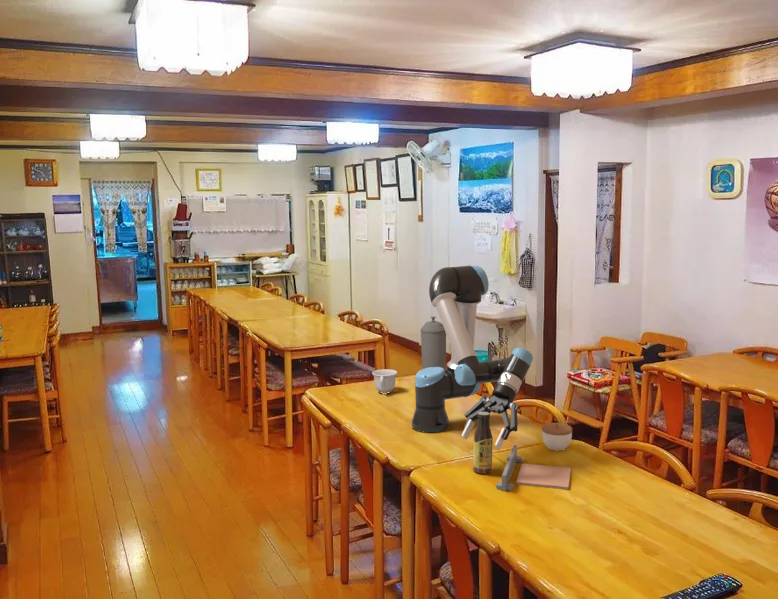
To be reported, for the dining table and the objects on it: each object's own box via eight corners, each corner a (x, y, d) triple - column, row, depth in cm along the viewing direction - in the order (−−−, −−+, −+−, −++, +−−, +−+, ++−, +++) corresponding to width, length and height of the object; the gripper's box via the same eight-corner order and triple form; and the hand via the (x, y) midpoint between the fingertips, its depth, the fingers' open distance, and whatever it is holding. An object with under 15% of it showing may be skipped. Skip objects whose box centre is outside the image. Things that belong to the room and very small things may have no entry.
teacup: (369, 397, 316) (368, 376, 315) (375, 389, 331) (374, 368, 329) (394, 398, 314) (394, 377, 313) (399, 389, 329) (399, 369, 327)
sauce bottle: (480, 476, 222) (479, 417, 219) (469, 469, 228) (469, 412, 225) (496, 472, 225) (496, 414, 222) (485, 466, 231) (485, 409, 228)
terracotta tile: (516, 484, 215) (516, 481, 215) (522, 465, 230) (522, 463, 230) (568, 489, 210) (568, 487, 210) (570, 470, 226) (571, 468, 225)
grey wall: (495, 490, 211) (495, 474, 211) (508, 457, 238) (508, 444, 237) (512, 491, 210) (512, 476, 209) (522, 459, 236) (522, 445, 235)
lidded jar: (574, 445, 249) (574, 420, 247) (569, 455, 239) (569, 429, 238) (544, 441, 253) (545, 417, 252) (538, 451, 244) (538, 425, 242)
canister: (448, 384, 336) (447, 314, 331) (445, 391, 324) (445, 318, 319) (422, 383, 338) (421, 314, 334) (419, 390, 326) (418, 318, 321)
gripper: (472, 376, 239) (445, 428, 230) (533, 388, 222) (507, 445, 213) (481, 388, 243) (455, 439, 235) (542, 401, 226) (516, 456, 217)
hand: (480, 442), depth 224 cm, fingers open, 13 cm apart
